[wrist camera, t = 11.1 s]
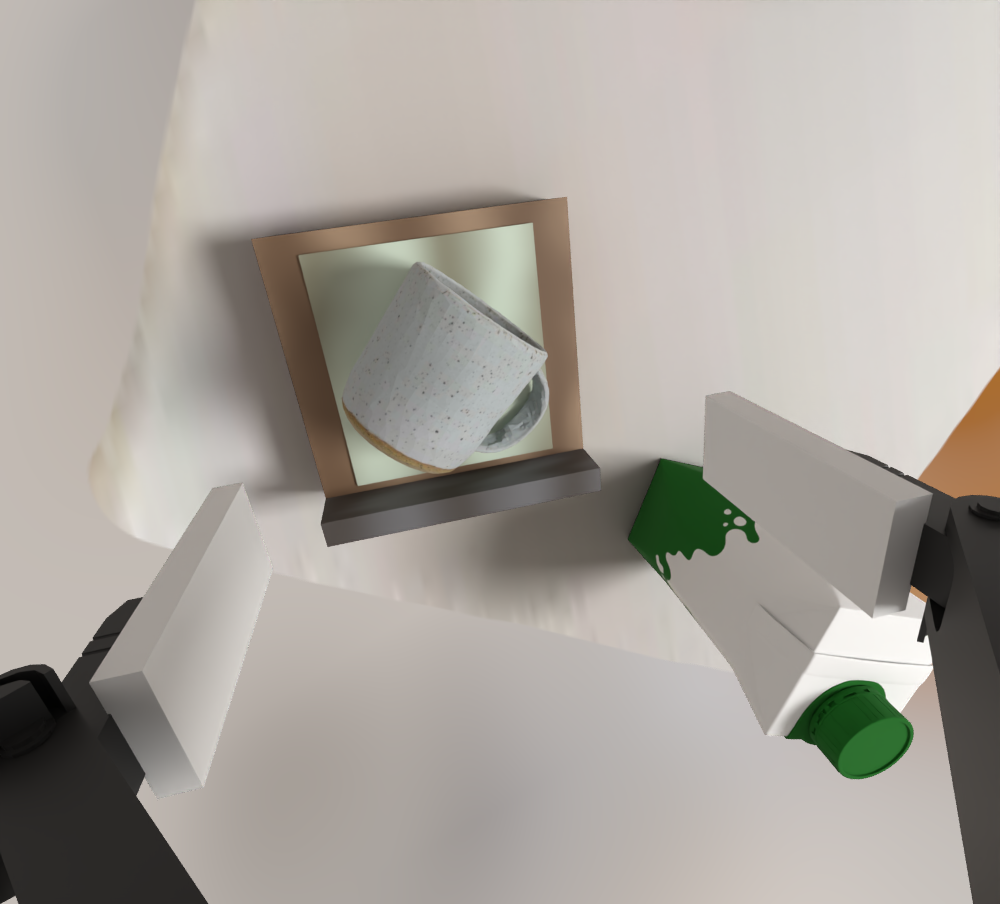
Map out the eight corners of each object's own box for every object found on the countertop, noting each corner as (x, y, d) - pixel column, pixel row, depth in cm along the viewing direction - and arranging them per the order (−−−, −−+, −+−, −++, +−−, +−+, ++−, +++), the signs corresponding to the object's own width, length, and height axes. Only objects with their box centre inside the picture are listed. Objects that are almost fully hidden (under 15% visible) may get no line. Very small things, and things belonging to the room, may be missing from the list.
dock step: (546, 199, 32) (585, 195, 26) (565, 446, 39) (601, 490, 33) (267, 236, 30) (236, 241, 24) (337, 490, 37) (327, 546, 31)
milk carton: (612, 547, 43) (777, 783, 25) (655, 442, 40) (876, 625, 22) (706, 562, 46) (917, 787, 28) (752, 464, 43) (1023, 644, 25)
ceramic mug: (335, 385, 30) (323, 437, 23) (412, 251, 28) (424, 265, 21) (493, 469, 34) (524, 535, 27) (570, 357, 32) (624, 397, 25)
